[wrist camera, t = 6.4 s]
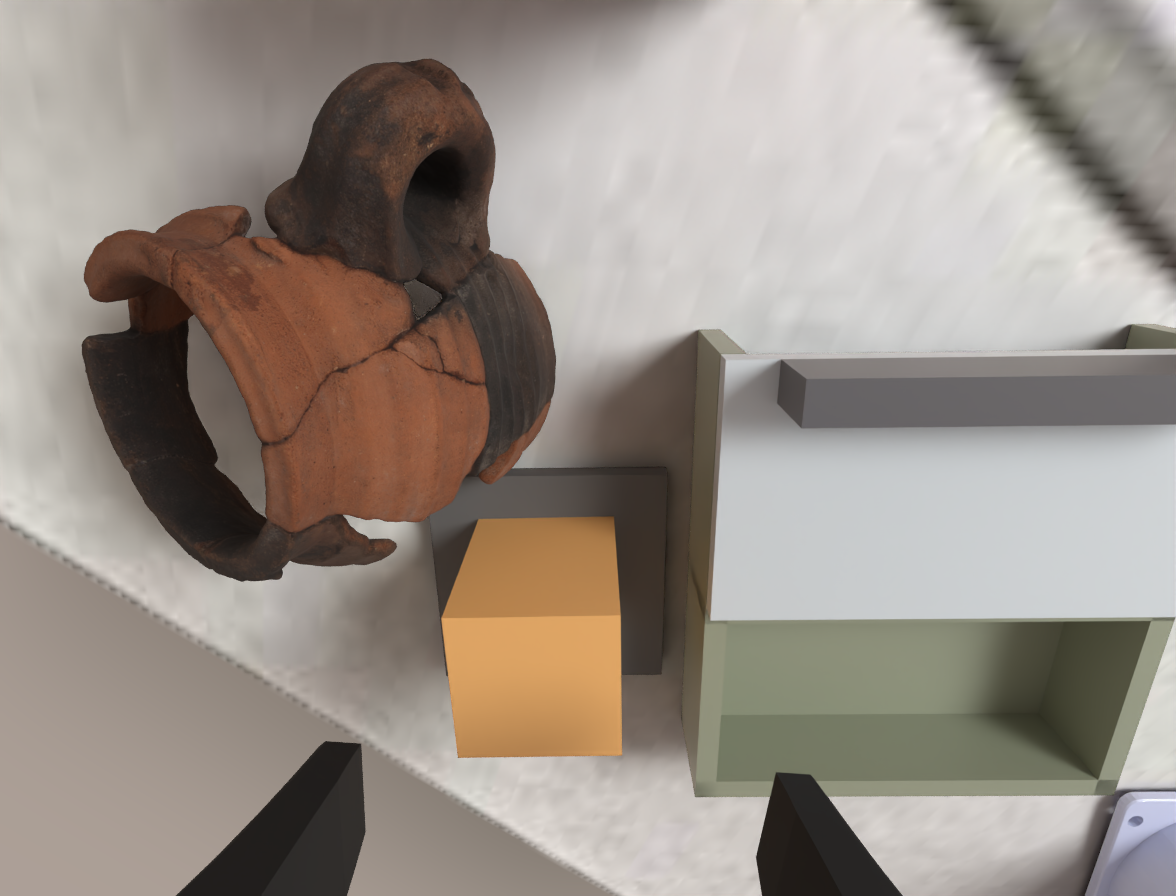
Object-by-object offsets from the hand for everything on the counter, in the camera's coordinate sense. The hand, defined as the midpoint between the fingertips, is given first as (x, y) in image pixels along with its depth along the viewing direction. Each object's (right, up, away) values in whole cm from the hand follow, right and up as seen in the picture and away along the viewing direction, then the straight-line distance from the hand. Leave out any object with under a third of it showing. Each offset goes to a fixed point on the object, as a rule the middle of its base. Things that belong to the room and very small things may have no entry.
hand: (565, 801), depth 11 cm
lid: (+10, +5, +4) cm, 12 cm away
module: (-1, +2, +9) cm, 9 cm away
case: (+10, +3, +9) cm, 13 cm away
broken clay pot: (-5, +10, +7) cm, 13 cm away
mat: (-1, +2, +9) cm, 9 cm away
